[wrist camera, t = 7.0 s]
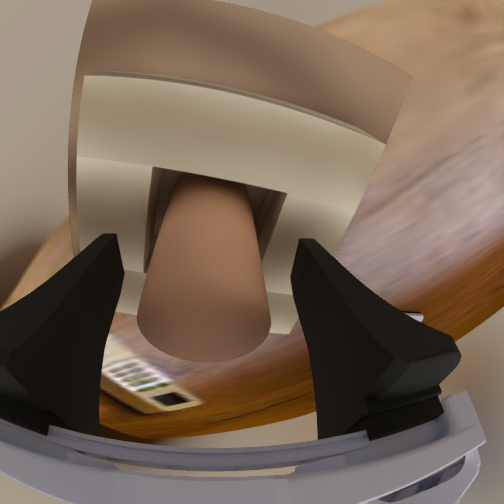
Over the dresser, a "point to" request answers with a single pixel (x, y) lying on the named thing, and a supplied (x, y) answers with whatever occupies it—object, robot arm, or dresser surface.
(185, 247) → the peg
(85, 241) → the socket
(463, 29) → the dresser surface
